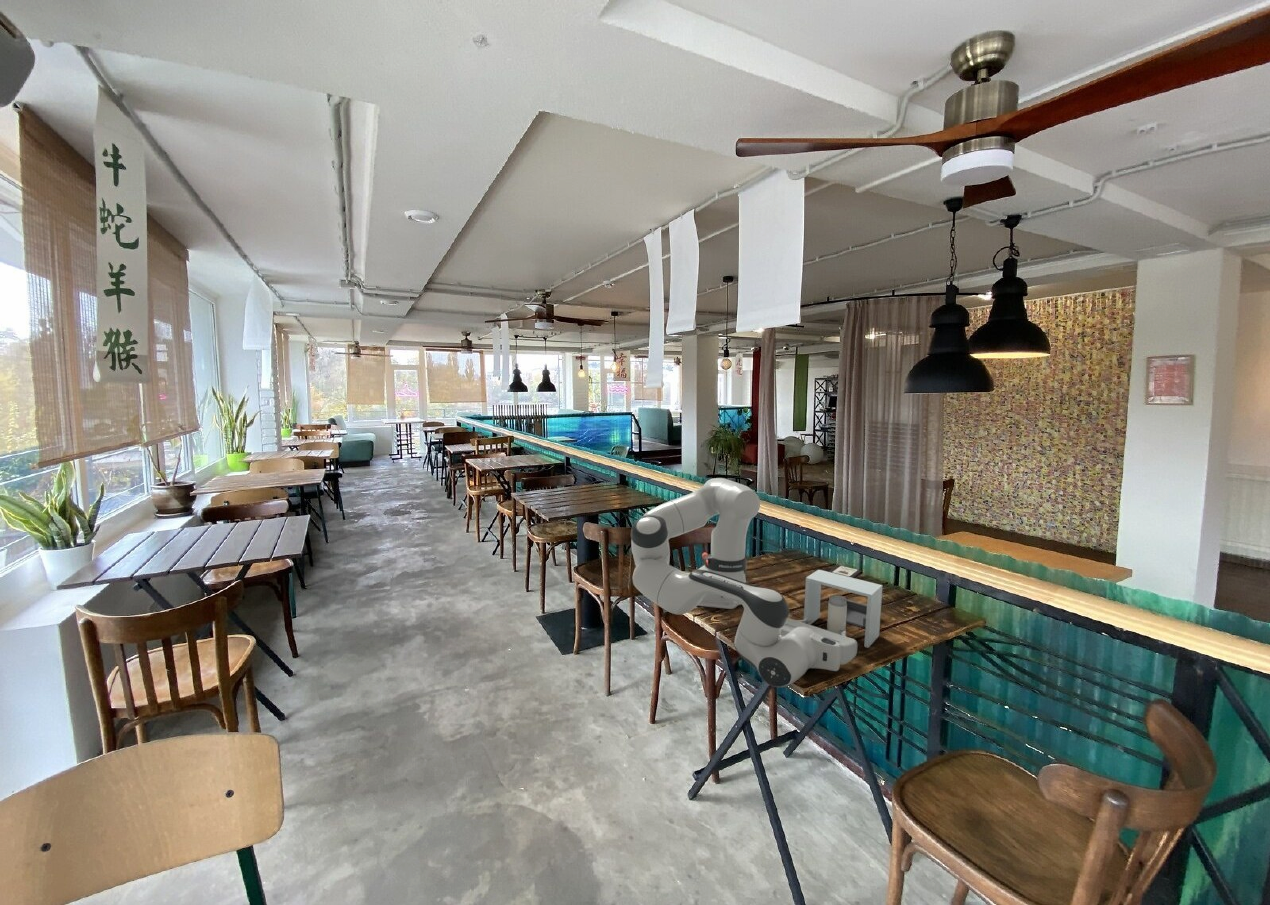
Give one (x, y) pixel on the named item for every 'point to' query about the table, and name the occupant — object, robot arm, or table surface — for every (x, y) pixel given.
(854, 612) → the tray
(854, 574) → the chocolate bar
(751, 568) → the table surface
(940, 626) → the table surface
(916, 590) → the table surface
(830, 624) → the shaker
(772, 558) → the table surface
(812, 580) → the tunnel
